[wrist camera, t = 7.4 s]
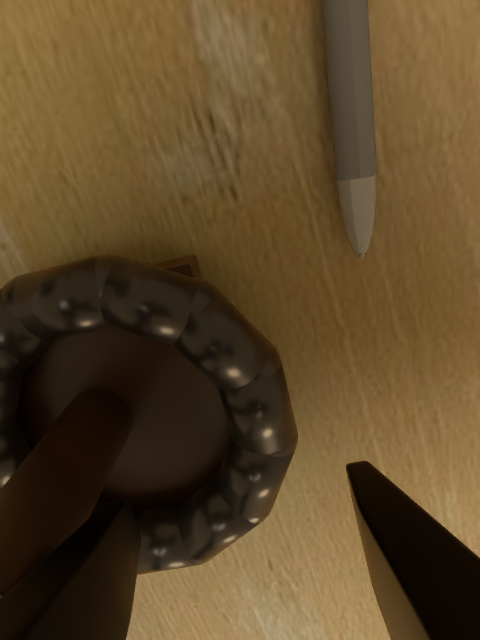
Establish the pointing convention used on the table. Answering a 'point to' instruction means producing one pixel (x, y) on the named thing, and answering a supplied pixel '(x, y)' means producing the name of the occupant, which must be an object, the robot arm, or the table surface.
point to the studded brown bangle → (201, 350)
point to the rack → (106, 436)
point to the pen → (352, 115)
